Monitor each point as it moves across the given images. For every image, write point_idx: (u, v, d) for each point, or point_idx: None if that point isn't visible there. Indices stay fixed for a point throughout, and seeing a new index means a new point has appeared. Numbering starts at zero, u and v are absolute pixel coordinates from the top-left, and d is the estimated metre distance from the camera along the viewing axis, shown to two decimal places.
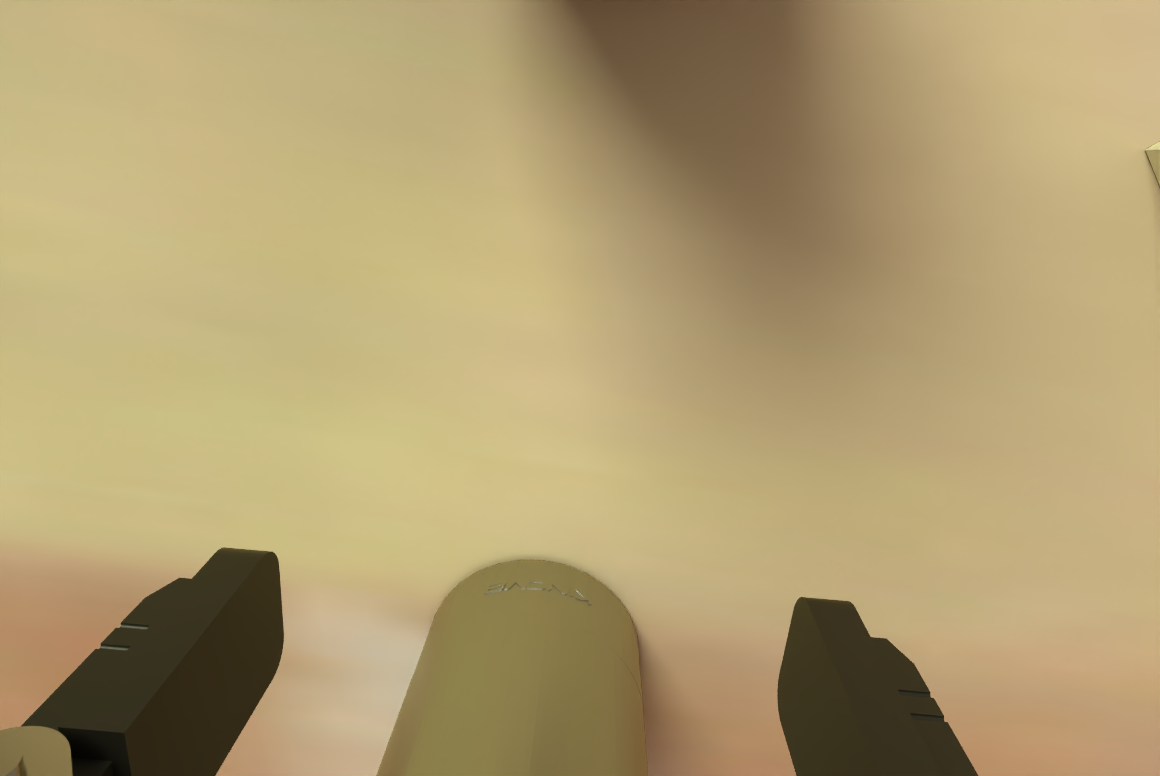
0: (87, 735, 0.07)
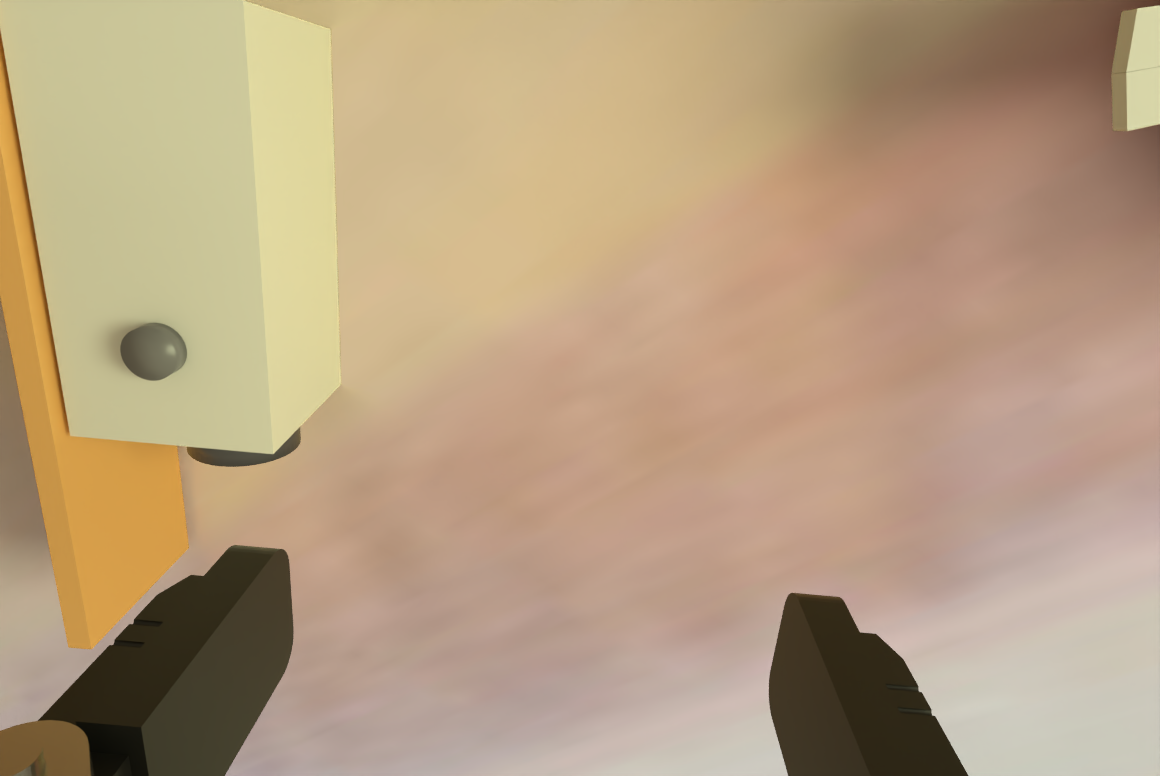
0: (104, 730, 0.08)
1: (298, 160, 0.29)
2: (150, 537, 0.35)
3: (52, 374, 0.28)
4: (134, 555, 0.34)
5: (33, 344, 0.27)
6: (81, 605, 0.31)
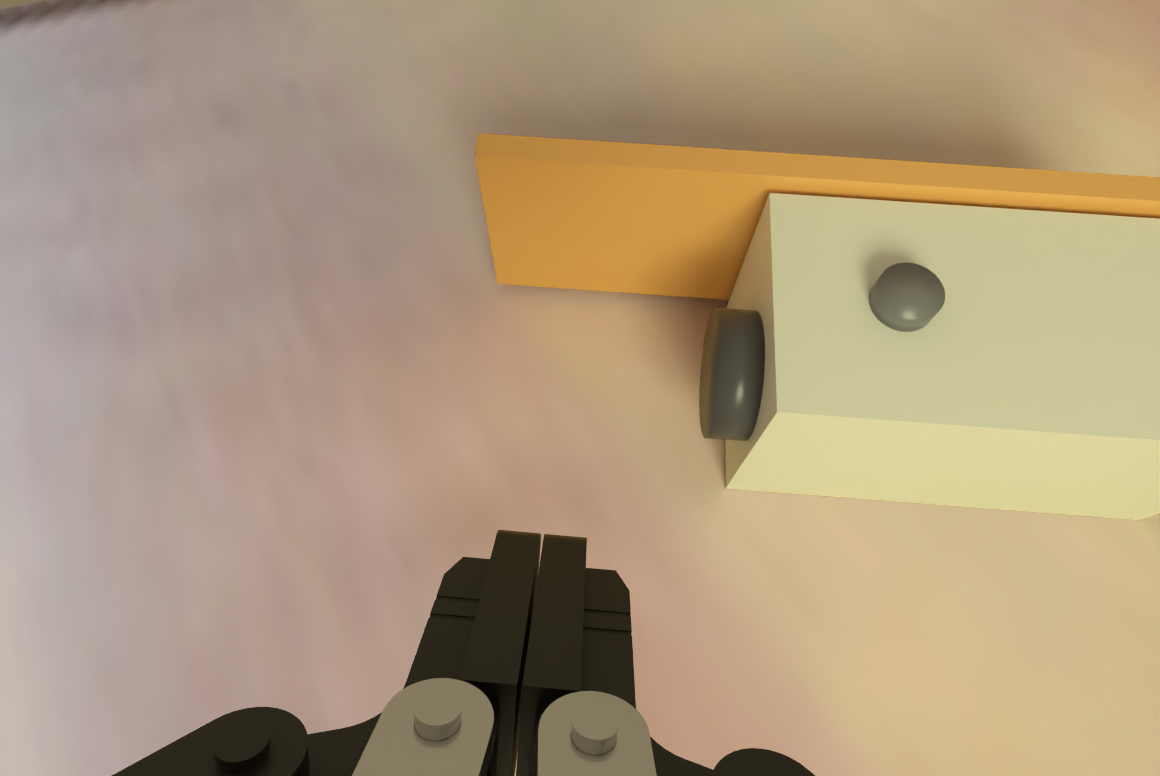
0: (481, 687, 0.09)
1: (1072, 478, 0.25)
2: (553, 247, 0.29)
3: (844, 191, 0.25)
4: (548, 226, 0.28)
5: (890, 181, 0.24)
6: (542, 158, 0.25)
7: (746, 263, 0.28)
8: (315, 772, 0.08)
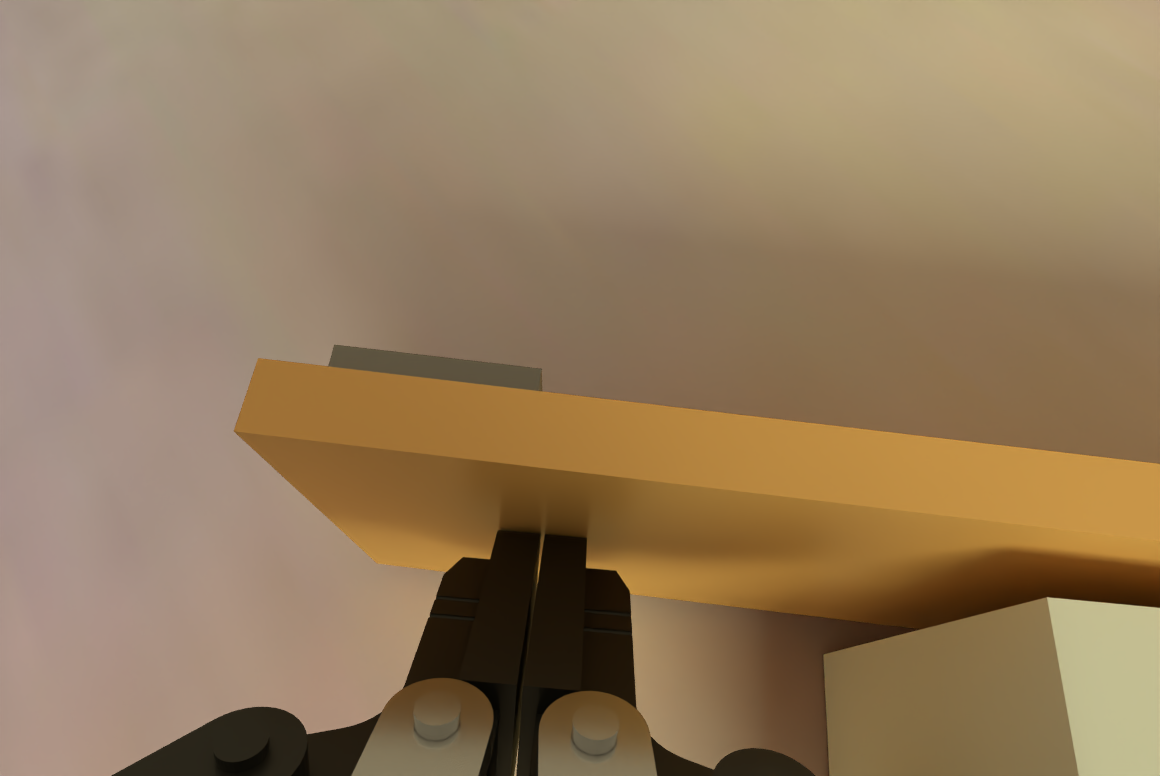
0: (481, 687, 0.09)
1: None
2: (479, 546, 0.13)
3: None
4: (462, 528, 0.12)
5: None
6: (421, 445, 0.09)
7: (914, 656, 0.12)
8: (314, 772, 0.08)
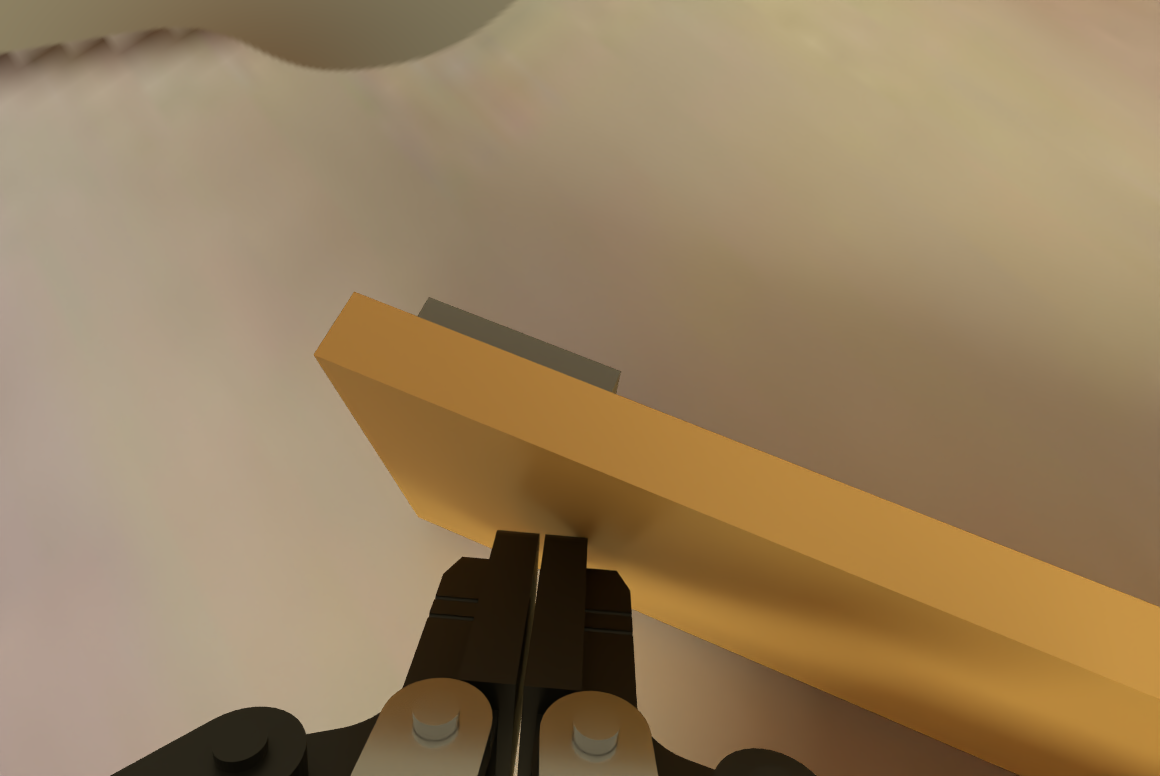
0: (480, 687, 0.09)
1: None
2: (516, 528, 0.13)
3: None
4: (504, 505, 0.12)
5: None
6: (483, 415, 0.09)
7: None
8: (314, 772, 0.08)
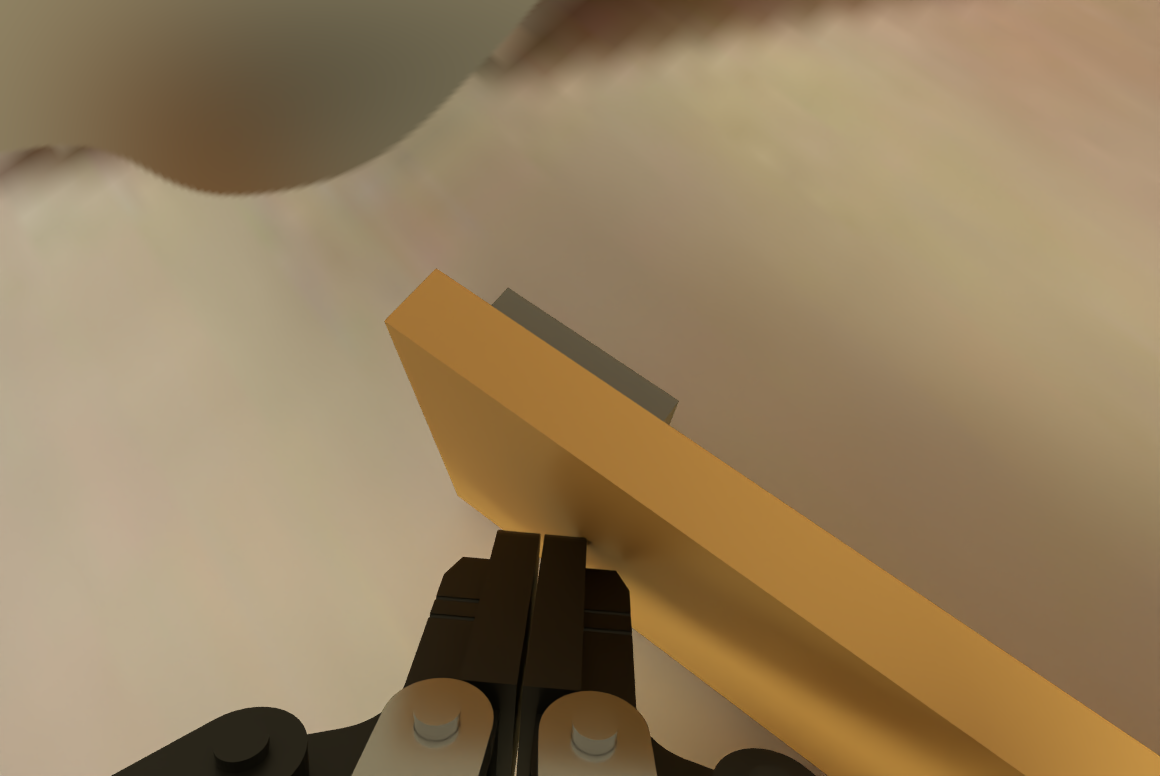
0: (481, 687, 0.09)
1: None
2: (546, 530, 0.13)
3: None
4: (538, 506, 0.12)
5: None
6: (530, 414, 0.09)
7: None
8: (315, 772, 0.08)
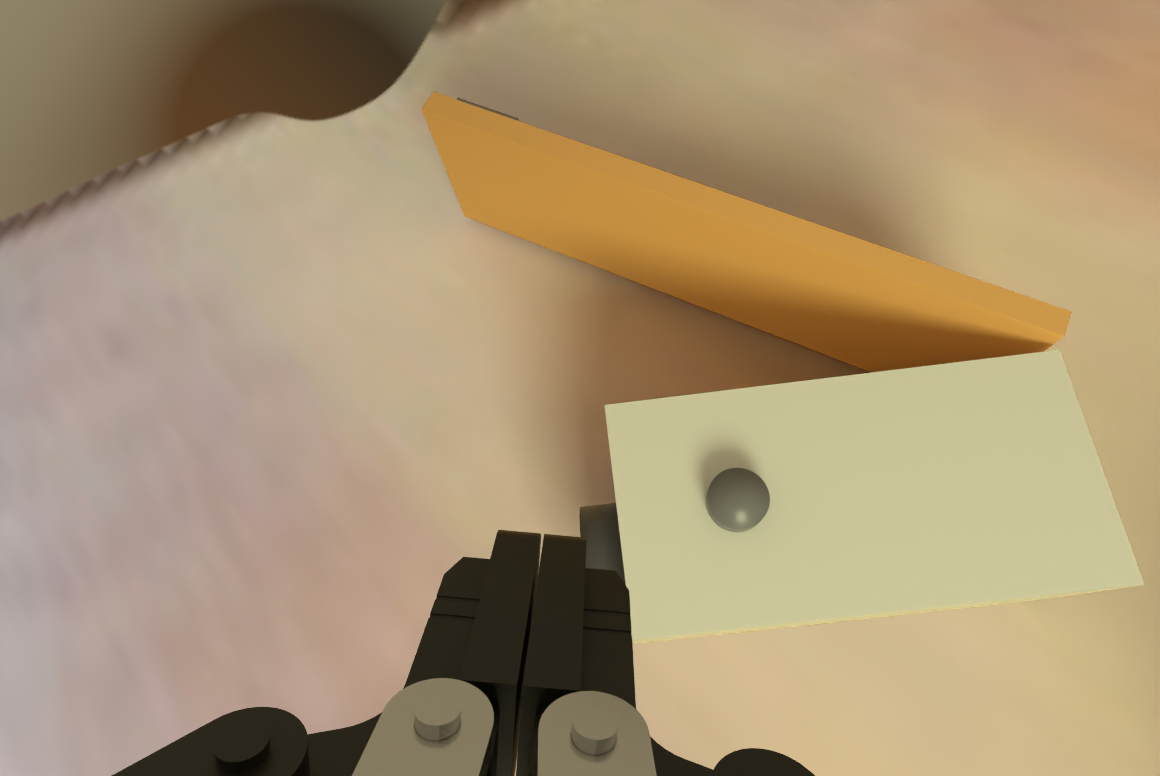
0: (481, 687, 0.09)
1: None
2: (496, 197, 0.35)
3: (698, 215, 0.28)
4: (487, 179, 0.34)
5: (733, 217, 0.28)
6: (469, 124, 0.30)
7: None
8: (315, 772, 0.08)
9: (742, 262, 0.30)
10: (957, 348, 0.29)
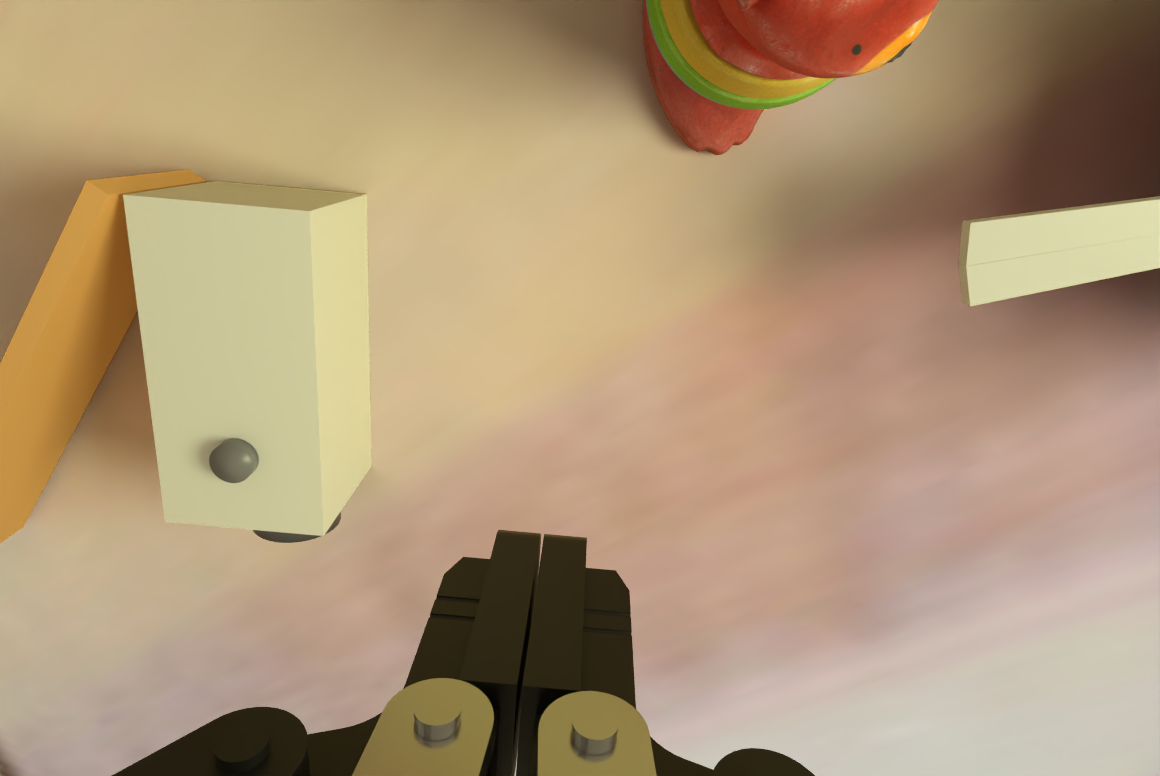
0: (481, 687, 0.09)
1: (343, 305, 0.36)
2: (0, 523, 0.42)
3: (3, 426, 0.35)
4: None
5: (2, 408, 0.34)
6: None
7: None
8: (315, 772, 0.08)
9: (52, 377, 0.37)
10: None
